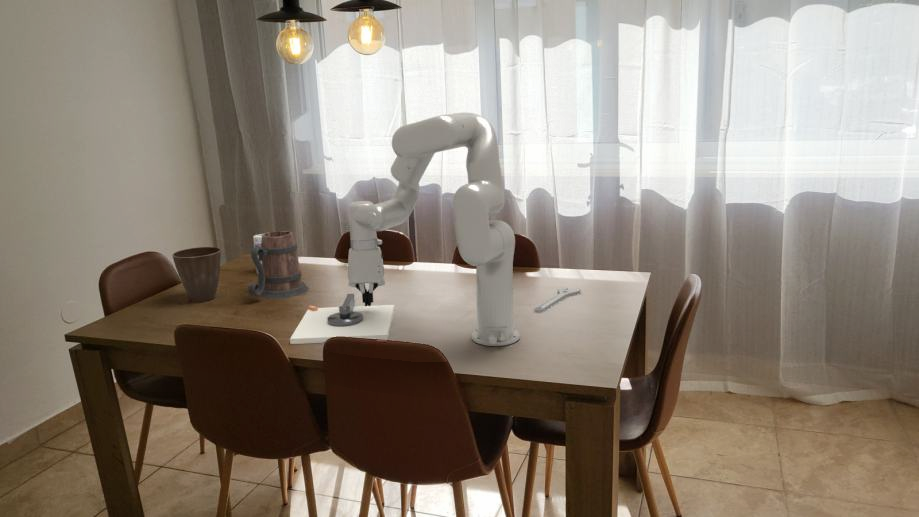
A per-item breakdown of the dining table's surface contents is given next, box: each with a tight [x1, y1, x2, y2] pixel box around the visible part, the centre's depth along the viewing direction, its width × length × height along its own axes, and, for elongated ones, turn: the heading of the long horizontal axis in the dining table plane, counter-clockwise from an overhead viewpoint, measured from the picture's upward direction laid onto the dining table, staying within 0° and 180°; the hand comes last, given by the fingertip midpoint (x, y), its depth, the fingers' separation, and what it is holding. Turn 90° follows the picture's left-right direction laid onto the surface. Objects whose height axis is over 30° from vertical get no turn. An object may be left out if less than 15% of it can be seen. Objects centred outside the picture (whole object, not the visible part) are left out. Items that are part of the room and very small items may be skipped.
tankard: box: [247, 230, 310, 300], centre depth 232 cm, size 24×17×20 cm
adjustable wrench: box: [533, 286, 582, 314], centre depth 216 cm, size 25×6×2 cm, turn 141°
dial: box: [327, 292, 363, 326], centre depth 204 cm, size 19×10×4 cm, turn 1°
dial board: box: [289, 304, 396, 345], centre depth 203 cm, size 30×26×2 cm
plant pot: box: [171, 246, 222, 303], centre depth 230 cm, size 15×15×16 cm
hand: (368, 304), depth 207 cm, fingers closed
